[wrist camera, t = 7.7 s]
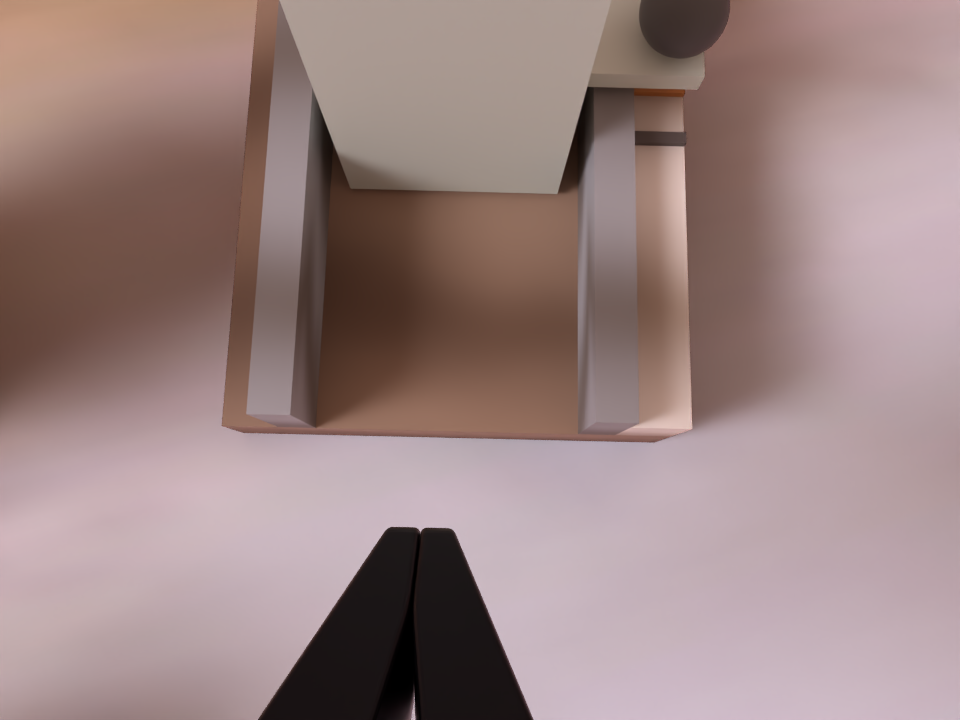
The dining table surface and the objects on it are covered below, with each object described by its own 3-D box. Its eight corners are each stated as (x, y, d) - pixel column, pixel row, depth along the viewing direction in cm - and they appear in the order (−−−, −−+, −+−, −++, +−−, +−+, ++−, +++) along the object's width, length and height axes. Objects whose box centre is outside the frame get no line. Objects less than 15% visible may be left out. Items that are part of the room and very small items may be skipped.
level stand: (653, 442, 23) (704, 424, 18) (243, 432, 23) (180, 412, 18) (643, -95, 26) (684, -235, 21) (286, -106, 26) (242, -248, 21)
